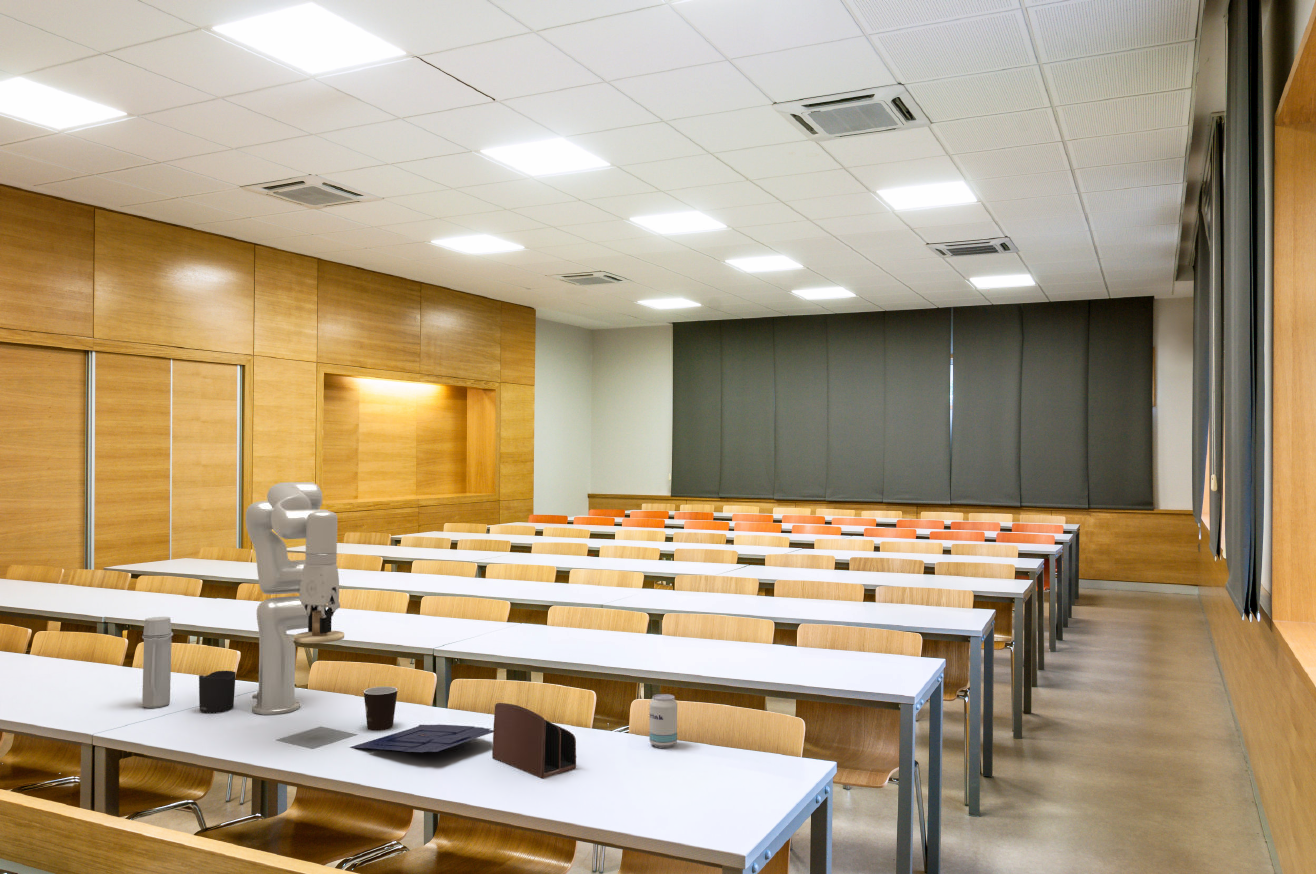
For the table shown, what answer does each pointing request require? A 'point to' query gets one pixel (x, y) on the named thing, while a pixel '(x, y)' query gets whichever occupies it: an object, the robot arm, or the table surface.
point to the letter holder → (531, 742)
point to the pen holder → (217, 691)
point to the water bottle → (157, 662)
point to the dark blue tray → (426, 738)
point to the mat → (316, 737)
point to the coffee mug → (380, 707)
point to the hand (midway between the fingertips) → (319, 631)
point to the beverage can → (663, 721)
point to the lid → (318, 632)
